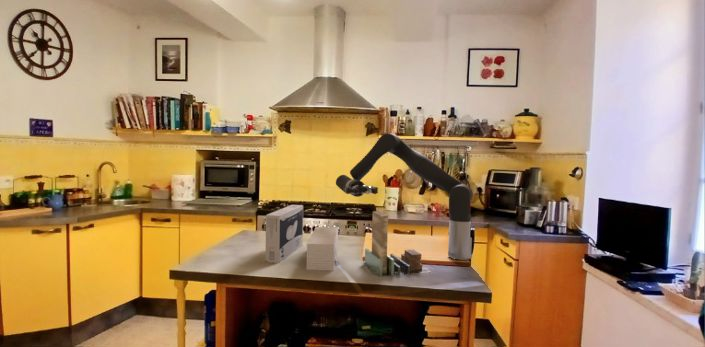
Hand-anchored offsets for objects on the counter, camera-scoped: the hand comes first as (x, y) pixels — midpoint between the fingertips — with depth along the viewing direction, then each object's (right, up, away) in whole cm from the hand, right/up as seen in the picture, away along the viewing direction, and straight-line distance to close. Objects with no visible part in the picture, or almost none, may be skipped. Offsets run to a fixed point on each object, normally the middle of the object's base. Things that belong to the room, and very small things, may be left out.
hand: (366, 191), depth 160 cm
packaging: (-37, -29, +11) cm, 48 cm away
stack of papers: (-19, -30, +3) cm, 35 cm away
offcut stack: (+18, -30, -10) cm, 36 cm away
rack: (+12, -31, -12) cm, 35 cm away
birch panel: (+4, -30, -14) cm, 33 cm away
